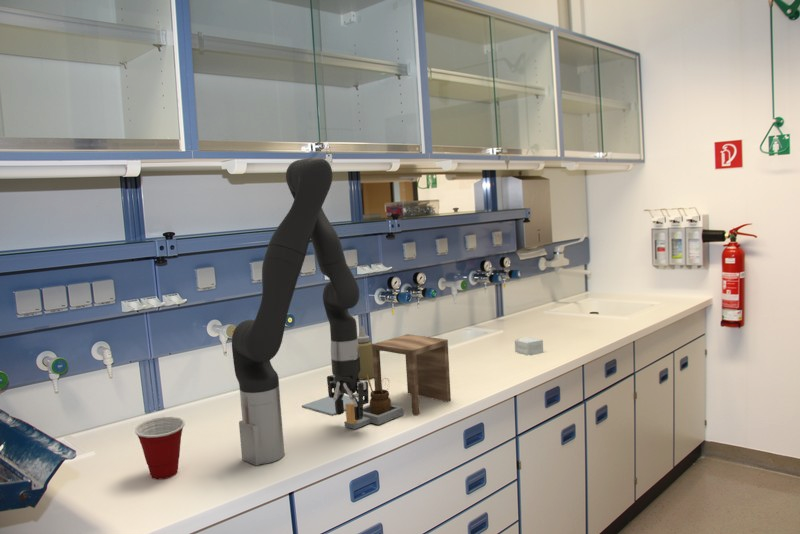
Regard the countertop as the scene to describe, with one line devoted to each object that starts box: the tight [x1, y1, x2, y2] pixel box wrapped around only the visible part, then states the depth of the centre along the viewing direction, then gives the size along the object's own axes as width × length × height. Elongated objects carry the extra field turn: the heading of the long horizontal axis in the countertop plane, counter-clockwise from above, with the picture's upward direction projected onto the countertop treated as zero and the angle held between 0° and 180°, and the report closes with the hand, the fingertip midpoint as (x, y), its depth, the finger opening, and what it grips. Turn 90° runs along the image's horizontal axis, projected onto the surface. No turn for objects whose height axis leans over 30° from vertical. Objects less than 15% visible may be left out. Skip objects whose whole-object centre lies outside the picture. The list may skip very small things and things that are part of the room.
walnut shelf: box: [372, 333, 452, 416], centre depth 183 cm, size 16×16×18 cm
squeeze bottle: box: [357, 325, 374, 380], centre depth 215 cm, size 8×8×18 cm
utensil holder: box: [366, 375, 392, 415], centre depth 174 cm, size 6×6×12 cm
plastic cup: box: [134, 416, 186, 480], centre depth 143 cm, size 11×11×12 cm
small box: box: [514, 336, 544, 357], centre depth 237 cm, size 8×8×5 cm
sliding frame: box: [344, 403, 405, 430], centre depth 171 cm, size 16×10×6 cm, turn 137°
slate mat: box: [301, 394, 359, 417], centre depth 187 cm, size 14×14×1 cm
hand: (349, 416), depth 166 cm, fingers open, 7 cm apart
